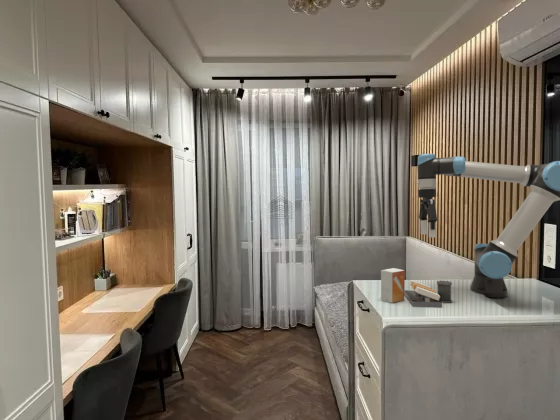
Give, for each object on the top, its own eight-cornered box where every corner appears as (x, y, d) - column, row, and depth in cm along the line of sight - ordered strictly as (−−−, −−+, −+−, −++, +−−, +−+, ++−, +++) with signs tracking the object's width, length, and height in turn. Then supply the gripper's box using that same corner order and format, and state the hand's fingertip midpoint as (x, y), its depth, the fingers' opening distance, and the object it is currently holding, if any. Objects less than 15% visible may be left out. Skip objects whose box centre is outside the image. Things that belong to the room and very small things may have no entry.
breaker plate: (430, 295, 167) (430, 287, 167) (442, 307, 150) (442, 298, 149) (404, 294, 169) (404, 286, 169) (413, 306, 151) (412, 297, 151)
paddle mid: (432, 294, 160) (433, 290, 160) (434, 296, 157) (436, 292, 157) (411, 286, 161) (413, 282, 161) (413, 288, 158) (415, 284, 158)
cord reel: (449, 299, 160) (449, 280, 160) (453, 303, 155) (453, 284, 154) (435, 299, 161) (435, 280, 161) (439, 303, 156) (439, 283, 155)
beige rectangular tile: (436, 298, 154) (437, 293, 154) (438, 300, 151) (440, 296, 151) (414, 290, 155) (416, 286, 155) (416, 292, 152) (418, 288, 152)
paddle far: (428, 290, 166) (430, 286, 166) (430, 292, 163) (432, 288, 163) (408, 283, 167) (410, 279, 167) (410, 285, 164) (411, 281, 164)
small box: (392, 303, 156) (392, 272, 155) (380, 300, 161) (380, 269, 161) (405, 300, 160) (405, 269, 160) (393, 297, 166) (393, 267, 165)
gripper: (411, 189, 182) (412, 233, 183) (425, 188, 157) (427, 238, 158) (427, 188, 181) (428, 232, 182) (444, 187, 156) (445, 238, 157)
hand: (427, 235), depth 170 cm, fingers open, 13 cm apart
